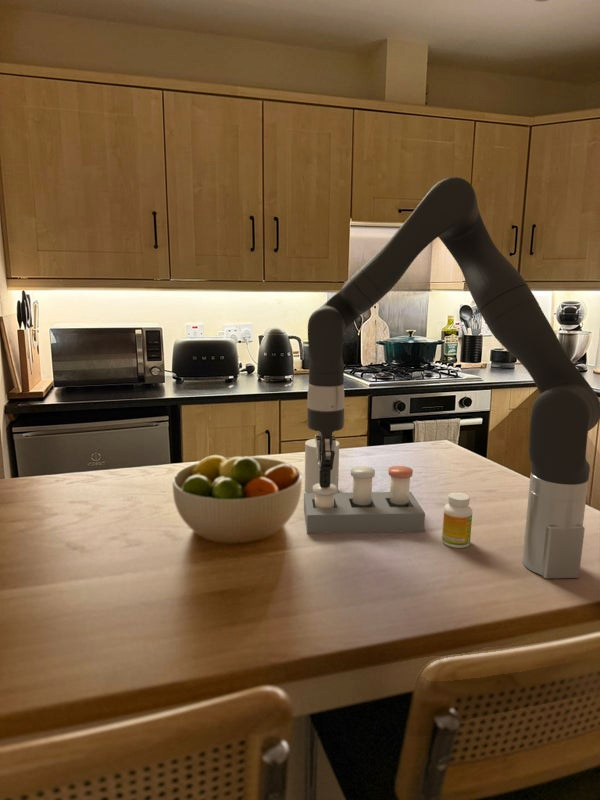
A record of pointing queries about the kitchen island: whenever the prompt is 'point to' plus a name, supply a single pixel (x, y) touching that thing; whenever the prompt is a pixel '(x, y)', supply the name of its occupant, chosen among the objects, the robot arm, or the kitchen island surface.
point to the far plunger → (324, 496)
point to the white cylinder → (313, 467)
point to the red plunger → (400, 484)
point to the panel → (363, 515)
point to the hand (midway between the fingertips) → (324, 485)
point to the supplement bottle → (457, 521)
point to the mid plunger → (362, 484)
